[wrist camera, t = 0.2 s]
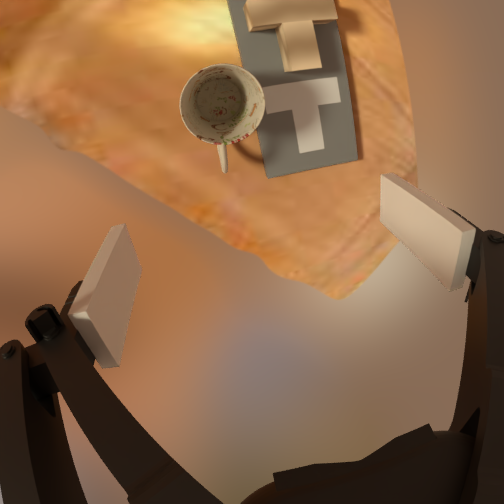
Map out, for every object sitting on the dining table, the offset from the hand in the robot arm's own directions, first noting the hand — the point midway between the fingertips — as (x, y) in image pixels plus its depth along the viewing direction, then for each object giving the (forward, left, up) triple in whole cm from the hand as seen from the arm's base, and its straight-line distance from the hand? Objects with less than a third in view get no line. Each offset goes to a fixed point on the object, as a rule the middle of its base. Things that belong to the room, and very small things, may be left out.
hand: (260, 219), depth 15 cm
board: (-5, +10, -28) cm, 30 cm away
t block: (-11, +10, -26) cm, 30 cm away
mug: (-2, 0, -28) cm, 28 cm away
